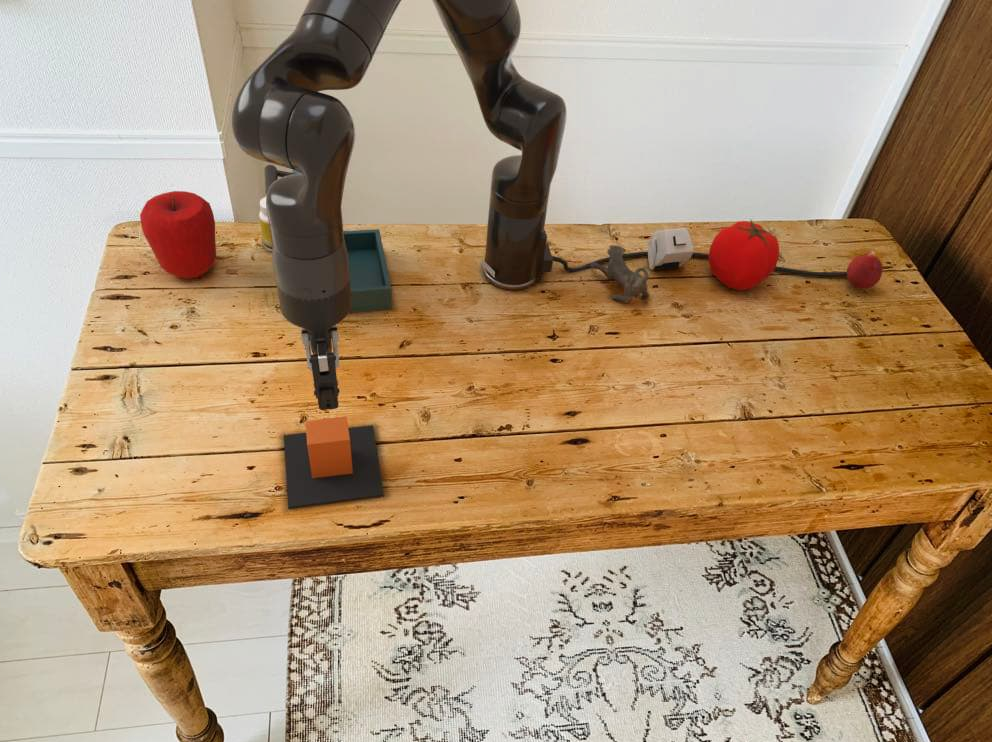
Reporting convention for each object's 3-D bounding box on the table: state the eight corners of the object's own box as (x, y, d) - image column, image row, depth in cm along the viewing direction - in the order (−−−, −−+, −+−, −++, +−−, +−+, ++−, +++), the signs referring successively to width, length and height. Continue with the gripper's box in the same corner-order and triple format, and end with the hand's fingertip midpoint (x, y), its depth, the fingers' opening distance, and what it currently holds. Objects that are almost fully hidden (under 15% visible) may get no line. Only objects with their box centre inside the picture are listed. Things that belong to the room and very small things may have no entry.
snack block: (349, 450, 109) (346, 416, 104) (352, 473, 106) (349, 439, 101) (310, 454, 108) (305, 420, 102) (312, 478, 105) (307, 444, 100)
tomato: (708, 297, 140) (726, 245, 131) (697, 256, 147) (714, 204, 139) (774, 302, 141) (797, 250, 133) (760, 261, 148) (780, 210, 140)
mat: (373, 426, 112) (372, 424, 112) (383, 496, 105) (383, 494, 105) (283, 436, 110) (283, 434, 109) (288, 508, 102) (288, 507, 102)
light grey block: (644, 273, 145) (668, 261, 136) (639, 237, 145) (662, 222, 136) (674, 270, 147) (700, 258, 137) (668, 234, 147) (694, 220, 137)
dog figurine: (653, 305, 137) (663, 270, 131) (625, 313, 134) (634, 278, 129) (614, 263, 143) (622, 229, 138) (587, 271, 141) (594, 236, 136)
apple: (217, 244, 136) (201, 172, 126) (230, 281, 130) (215, 209, 120) (150, 255, 132) (129, 183, 122) (160, 294, 126) (139, 221, 116)
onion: (874, 284, 147) (893, 249, 141) (869, 302, 144) (889, 266, 138) (842, 273, 149) (860, 238, 143) (837, 291, 145) (855, 255, 139)
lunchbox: (379, 249, 139) (379, 229, 136) (391, 309, 129) (391, 288, 126) (286, 255, 136) (283, 234, 132) (291, 317, 126) (288, 296, 122)
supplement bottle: (285, 255, 135) (279, 213, 129) (259, 249, 136) (251, 207, 130) (296, 239, 139) (291, 197, 133) (270, 233, 139) (264, 191, 133)
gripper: (356, 316, 80) (364, 422, 92) (342, 230, 89) (351, 336, 101) (278, 323, 78) (296, 430, 90) (272, 234, 87) (289, 342, 99)
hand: (325, 380), depth 96 cm, fingers open, 8 cm apart
